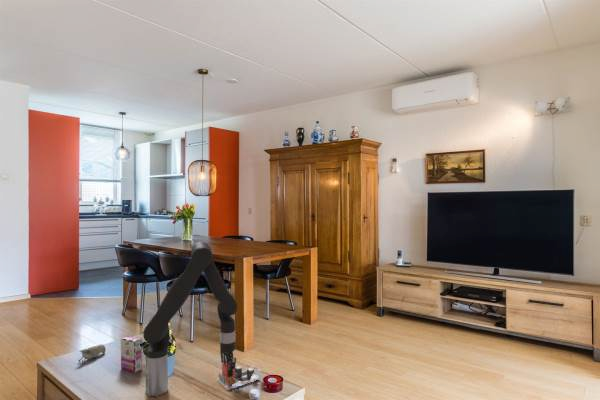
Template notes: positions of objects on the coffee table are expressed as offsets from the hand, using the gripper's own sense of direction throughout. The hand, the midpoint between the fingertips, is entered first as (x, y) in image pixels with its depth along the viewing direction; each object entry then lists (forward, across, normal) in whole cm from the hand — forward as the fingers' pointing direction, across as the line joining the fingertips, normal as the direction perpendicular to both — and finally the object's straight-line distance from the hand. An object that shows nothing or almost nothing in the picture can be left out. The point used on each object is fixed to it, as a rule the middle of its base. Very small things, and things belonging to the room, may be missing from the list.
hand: (228, 374), depth 185 cm
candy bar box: (+3, +42, +36) cm, 56 cm away
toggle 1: (+2, 0, -5) cm, 6 cm away
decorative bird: (+4, +70, +51) cm, 87 cm away
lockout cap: (+1, 0, 0) cm, 1 cm away
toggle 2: (+2, -5, -9) cm, 11 cm away
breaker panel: (+3, -2, -4) cm, 6 cm away
